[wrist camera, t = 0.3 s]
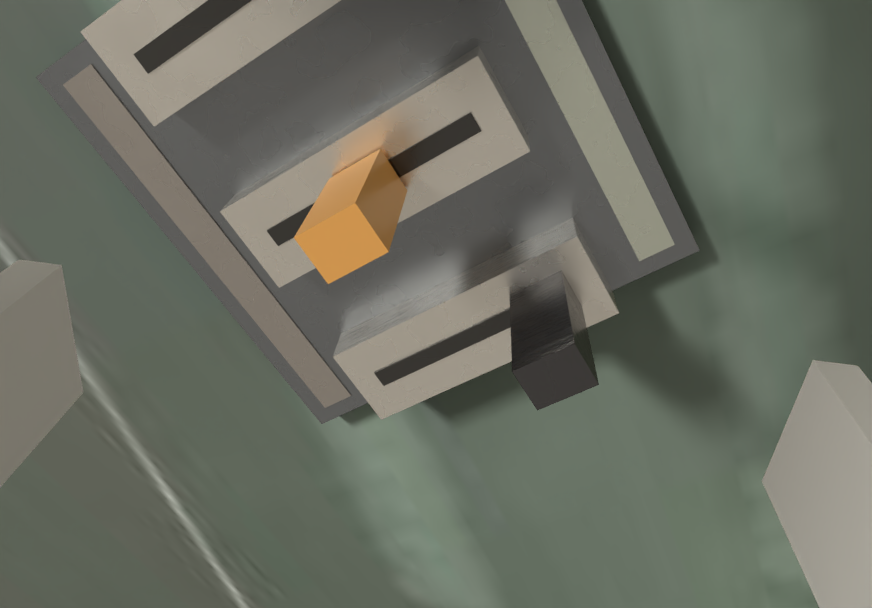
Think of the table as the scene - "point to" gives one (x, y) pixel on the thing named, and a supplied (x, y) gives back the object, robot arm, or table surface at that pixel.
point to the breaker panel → (413, 163)
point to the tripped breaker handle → (353, 217)
